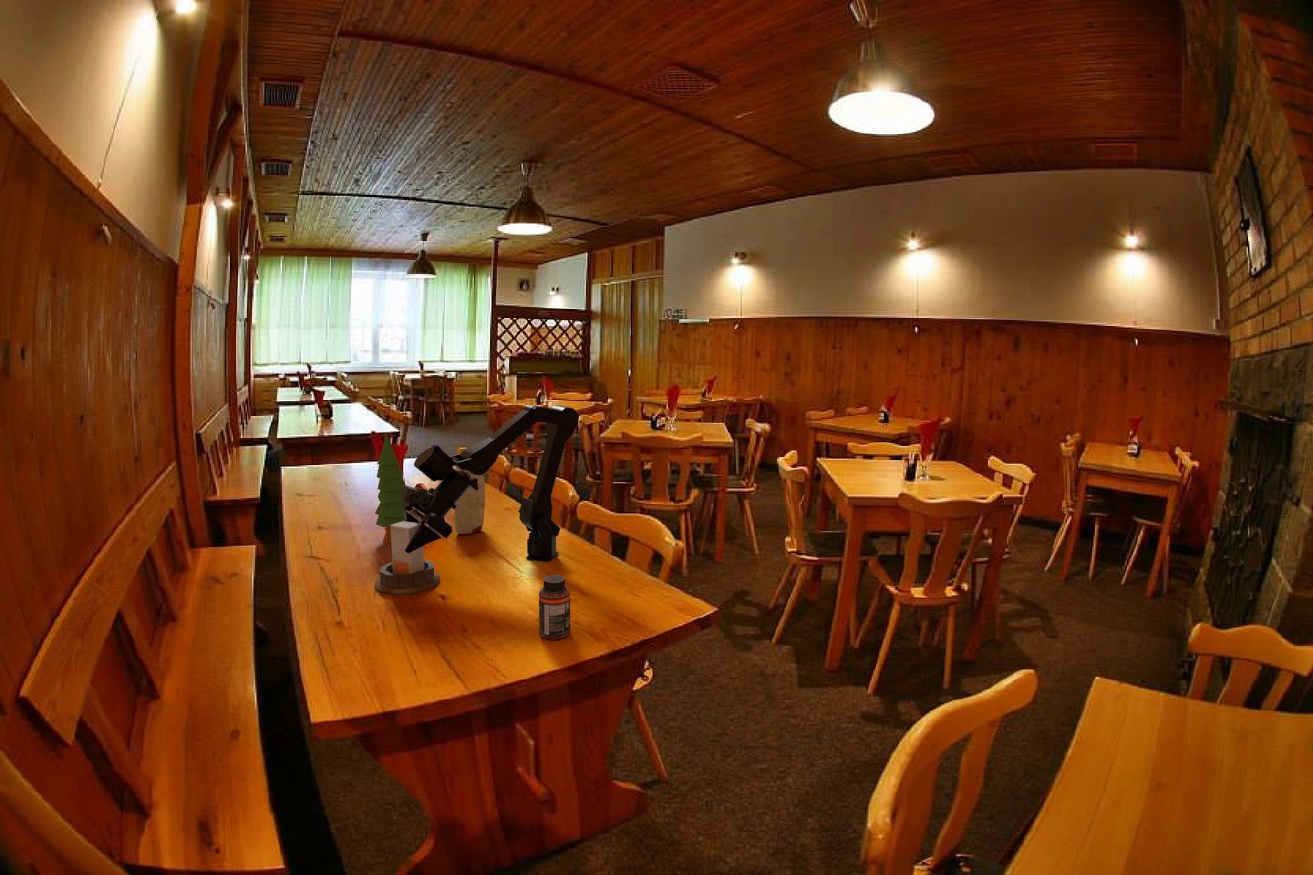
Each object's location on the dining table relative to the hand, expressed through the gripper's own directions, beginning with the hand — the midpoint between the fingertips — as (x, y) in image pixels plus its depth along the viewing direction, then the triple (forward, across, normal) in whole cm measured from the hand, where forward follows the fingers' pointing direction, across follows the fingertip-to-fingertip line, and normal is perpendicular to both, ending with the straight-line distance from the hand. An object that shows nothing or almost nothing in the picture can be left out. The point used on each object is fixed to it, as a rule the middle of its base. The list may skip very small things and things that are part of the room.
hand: (401, 547), depth 157 cm
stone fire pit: (+5, 0, +7) cm, 9 cm away
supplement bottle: (-5, +42, +18) cm, 46 cm away
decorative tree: (0, -33, +12) cm, 36 cm away
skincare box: (+4, 0, +6) cm, 7 cm away
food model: (-13, -30, +26) cm, 42 cm away
